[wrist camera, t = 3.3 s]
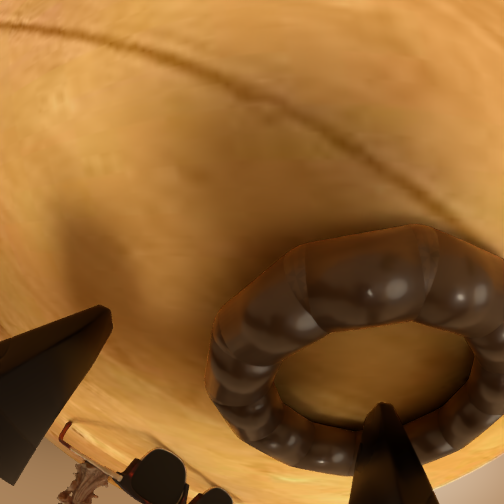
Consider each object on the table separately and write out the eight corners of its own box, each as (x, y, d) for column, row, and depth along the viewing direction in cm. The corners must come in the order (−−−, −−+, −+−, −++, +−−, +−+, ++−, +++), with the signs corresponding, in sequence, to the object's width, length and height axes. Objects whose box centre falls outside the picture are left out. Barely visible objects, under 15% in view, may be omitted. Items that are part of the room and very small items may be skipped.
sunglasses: (246, 502, 21) (228, 542, 16) (142, 473, 28) (125, 501, 24) (148, 430, 17) (113, 484, 12) (64, 406, 24) (39, 436, 20)
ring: (413, 453, 11) (413, 487, 9) (207, 405, 13) (189, 442, 11) (563, 283, 6) (592, 320, 4) (255, 159, 7) (225, 179, 5)
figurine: (119, 481, 35) (84, 541, 22) (111, 480, 38) (78, 534, 25) (83, 456, 34) (44, 516, 21) (78, 457, 37) (42, 511, 24)
